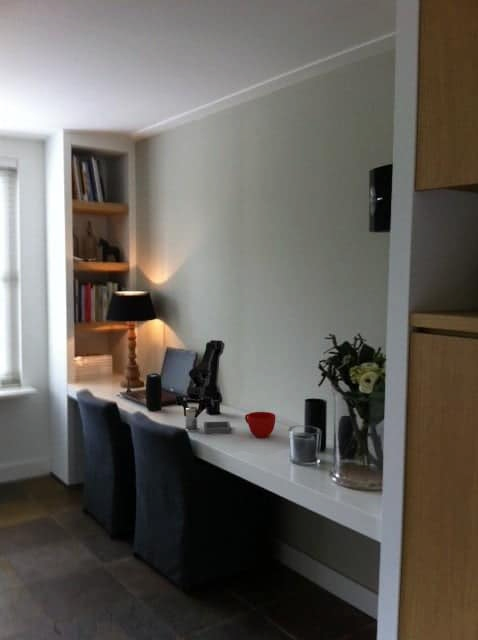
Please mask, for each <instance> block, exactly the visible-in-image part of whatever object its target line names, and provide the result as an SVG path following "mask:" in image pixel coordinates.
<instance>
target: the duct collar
mask: <svg viewBox="0 0 478 640" xmlns="http://www.w3.org/2000/svg"><path fill="white" fill-rule="evenodd" d="M203 428H204V434H205V435H209V434H208V433H224V434H232V427H231V424H230V421H229V420H227V421H226V420H225V421H204V422H203Z"/></svg>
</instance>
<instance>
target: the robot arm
mask: <svg viewBox="0 0 478 640" xmlns="http://www.w3.org/2000/svg"><path fill="white" fill-rule="evenodd" d="M225 346H226V345H225V342H223V340H220V339H219V340H218V339H217V340H215V339H214V340H213V339H212V340H210V341H208V342H206V343H205V349H204V353H203V356H202V359H201V362H199V363H198V364H197V366H194V367H193V368H192V369H190V370H189V371H188V377H189V378H190V380H191V383H192V386H187V388H186V394H187V397H188V398H187V397H185V395H179V394H177V395H176V396H175V398H174V401H175V403H176V405H177V406H181V407H182V408H183V417H186V407H190V406H189V405H188V404H198V407H197V412H196V417H197V418H198V417H199V416H200V415H201V413H203V412H204V411H205V413H207V414H208V415H210V416H212V415H218V414H219V415H220V414H222V412H221V403H223V396H222V393H221V388H220V387H219V384H218V380H219V370H220V359H221V356H222V355H223V353H224V350H225ZM206 380H208V384H206V383H207V382H206ZM202 398H203V399H202Z"/></svg>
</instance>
